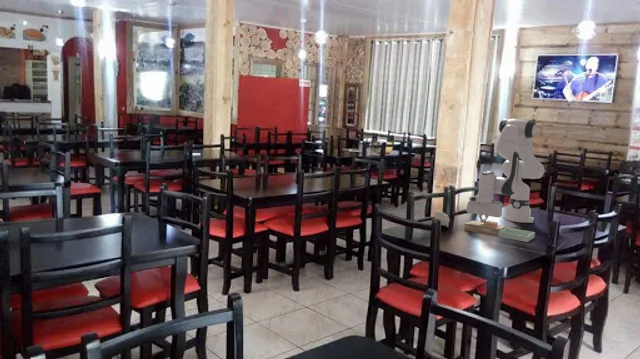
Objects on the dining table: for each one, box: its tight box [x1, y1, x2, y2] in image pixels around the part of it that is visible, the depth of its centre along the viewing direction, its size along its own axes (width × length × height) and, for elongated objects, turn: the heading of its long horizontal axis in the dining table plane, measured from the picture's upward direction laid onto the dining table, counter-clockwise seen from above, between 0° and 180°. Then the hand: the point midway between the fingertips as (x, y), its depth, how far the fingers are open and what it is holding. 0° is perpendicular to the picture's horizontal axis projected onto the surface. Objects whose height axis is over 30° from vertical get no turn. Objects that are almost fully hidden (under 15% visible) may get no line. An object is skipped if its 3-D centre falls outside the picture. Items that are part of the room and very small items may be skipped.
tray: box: [497, 227, 536, 243], centre depth 307 cm, size 15×16×3 cm
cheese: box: [434, 209, 451, 228], centre depth 320 cm, size 15×7×15 cm
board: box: [463, 220, 507, 237], centre depth 317 cm, size 13×20×4 cm, turn 55°
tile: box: [484, 220, 499, 227], centre depth 315 cm, size 6×6×2 cm
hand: (483, 222), depth 318 cm, fingers closed
